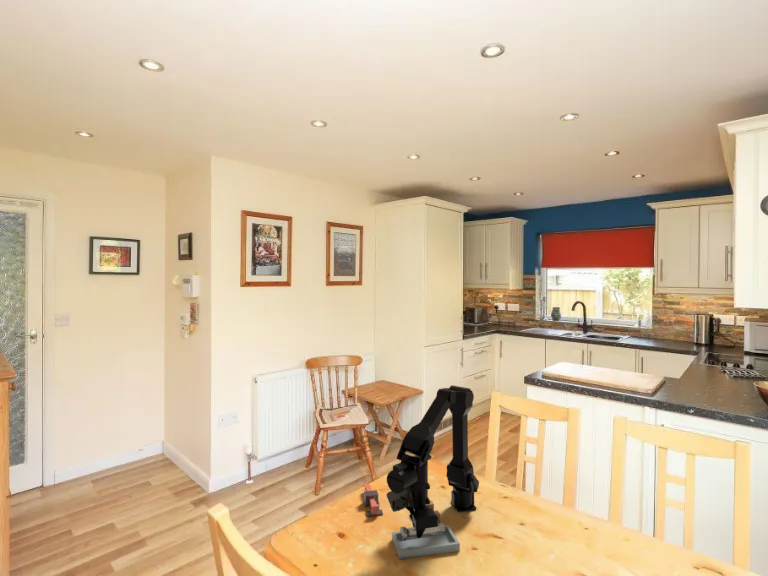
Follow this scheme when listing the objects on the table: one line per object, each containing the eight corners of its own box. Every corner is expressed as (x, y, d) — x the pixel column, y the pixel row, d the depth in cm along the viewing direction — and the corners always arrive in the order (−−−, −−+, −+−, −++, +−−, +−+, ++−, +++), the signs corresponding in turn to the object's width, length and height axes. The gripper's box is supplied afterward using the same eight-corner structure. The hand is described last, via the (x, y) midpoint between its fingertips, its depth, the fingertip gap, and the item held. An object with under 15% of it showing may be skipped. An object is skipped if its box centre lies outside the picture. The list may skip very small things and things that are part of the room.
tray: (448, 531, 119) (448, 525, 119) (459, 550, 110) (459, 543, 110) (392, 539, 115) (392, 532, 115) (399, 559, 107) (399, 552, 107)
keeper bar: (370, 488, 142) (370, 481, 142) (379, 513, 127) (379, 505, 127) (363, 488, 142) (363, 482, 142) (371, 514, 126) (371, 506, 126)
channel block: (431, 509, 131) (431, 500, 131) (440, 524, 123) (440, 514, 123) (413, 511, 129) (413, 502, 129) (421, 526, 122) (421, 516, 122)
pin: (441, 530, 116) (441, 518, 116) (445, 537, 112) (445, 525, 112) (400, 536, 113) (400, 524, 113) (403, 544, 110) (403, 531, 110)
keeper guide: (377, 500, 136) (377, 490, 136) (382, 514, 128) (382, 503, 128) (363, 502, 135) (363, 491, 135) (367, 516, 127) (367, 505, 127)
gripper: (382, 466, 120) (382, 518, 120) (397, 499, 102) (397, 561, 102) (418, 463, 122) (418, 514, 122) (439, 494, 104) (439, 554, 104)
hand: (417, 534), depth 112 cm, fingers closed on pin, 2 cm apart
